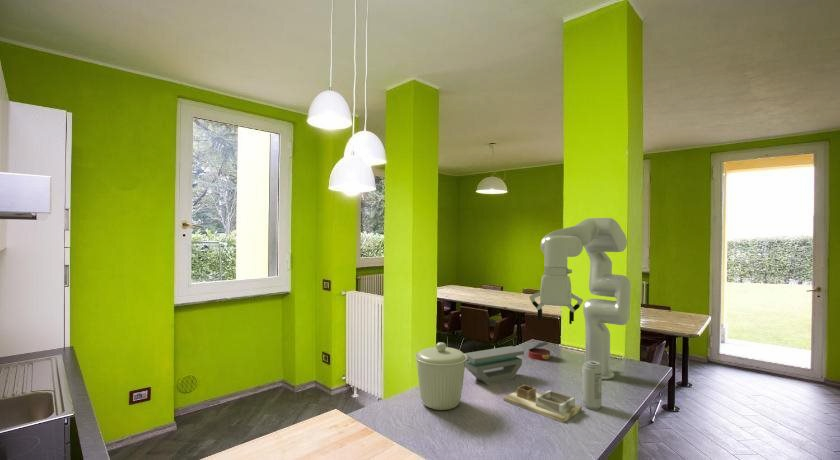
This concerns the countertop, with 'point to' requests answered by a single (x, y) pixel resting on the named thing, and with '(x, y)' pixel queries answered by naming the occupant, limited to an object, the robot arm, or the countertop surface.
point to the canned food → (539, 352)
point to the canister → (440, 376)
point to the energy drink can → (591, 384)
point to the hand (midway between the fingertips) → (555, 322)
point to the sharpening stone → (494, 364)
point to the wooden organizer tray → (544, 403)
